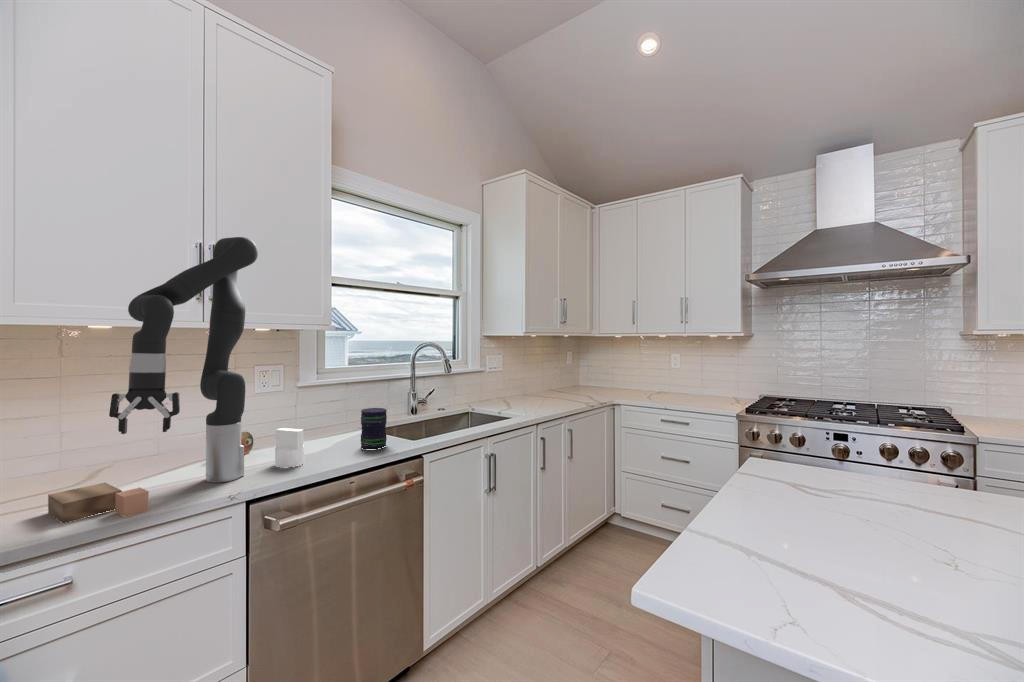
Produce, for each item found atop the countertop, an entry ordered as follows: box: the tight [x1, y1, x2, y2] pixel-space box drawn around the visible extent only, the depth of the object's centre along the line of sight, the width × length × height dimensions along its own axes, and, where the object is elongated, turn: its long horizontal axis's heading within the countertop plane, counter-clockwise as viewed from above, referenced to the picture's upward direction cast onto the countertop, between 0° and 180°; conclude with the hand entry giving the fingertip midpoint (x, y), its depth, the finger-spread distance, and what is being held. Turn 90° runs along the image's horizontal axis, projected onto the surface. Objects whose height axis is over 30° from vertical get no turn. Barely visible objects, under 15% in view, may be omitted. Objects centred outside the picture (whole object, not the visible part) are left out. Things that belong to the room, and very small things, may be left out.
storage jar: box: [360, 407, 388, 449], centre depth 181 cm, size 10×10×15 cm
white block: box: [274, 427, 305, 469], centre depth 157 cm, size 9×9×12 cm
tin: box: [241, 431, 254, 455], centre depth 165 cm, size 15×3×8 cm, turn 168°
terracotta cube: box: [115, 487, 150, 518], centre depth 115 cm, size 5×5×5 cm
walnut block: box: [47, 482, 123, 524], centre depth 115 cm, size 11×11×5 cm
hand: (144, 432), depth 120 cm, fingers open, 8 cm apart
